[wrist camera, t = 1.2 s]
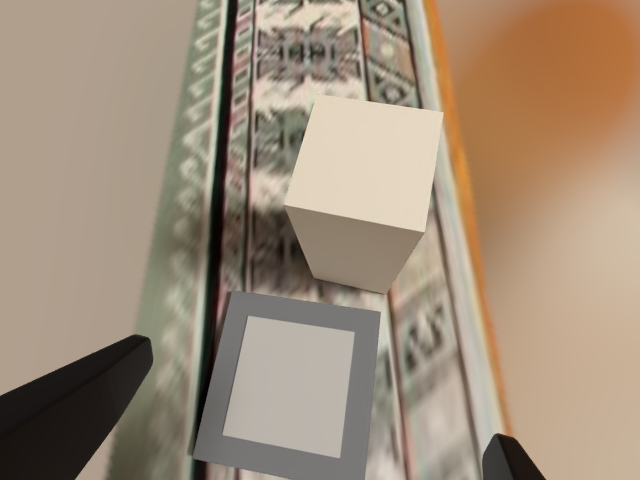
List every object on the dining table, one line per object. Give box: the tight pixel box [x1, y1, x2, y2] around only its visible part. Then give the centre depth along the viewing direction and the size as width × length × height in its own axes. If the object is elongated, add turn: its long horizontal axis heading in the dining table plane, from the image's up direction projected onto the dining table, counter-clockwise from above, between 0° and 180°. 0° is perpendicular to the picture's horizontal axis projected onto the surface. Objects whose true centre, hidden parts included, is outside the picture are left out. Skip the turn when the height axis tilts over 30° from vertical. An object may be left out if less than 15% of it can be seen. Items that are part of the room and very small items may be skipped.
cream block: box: [284, 94, 444, 294], centre depth 18 cm, size 5×5×12 cm
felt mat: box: [192, 290, 381, 480], centre depth 21 cm, size 10×10×1 cm
